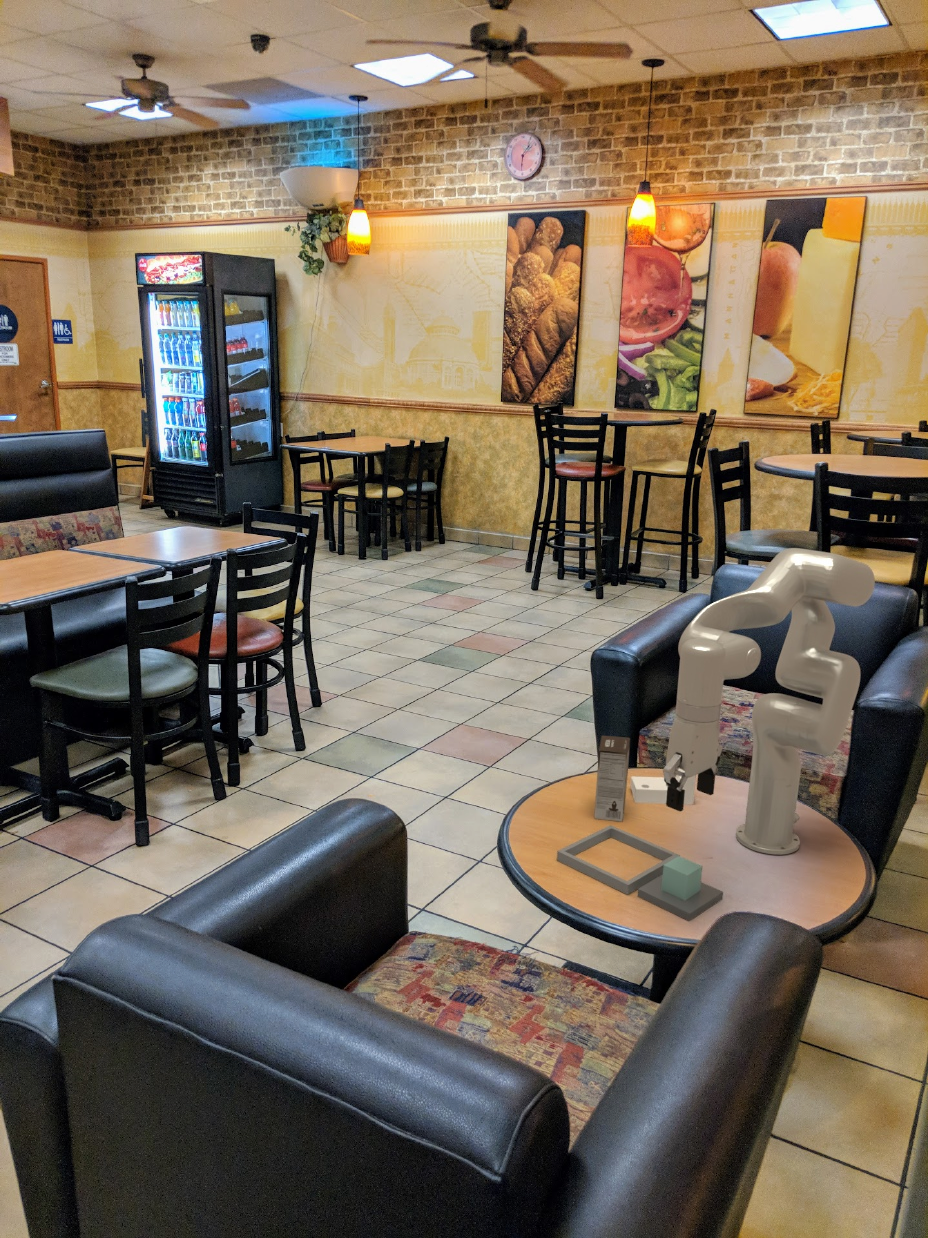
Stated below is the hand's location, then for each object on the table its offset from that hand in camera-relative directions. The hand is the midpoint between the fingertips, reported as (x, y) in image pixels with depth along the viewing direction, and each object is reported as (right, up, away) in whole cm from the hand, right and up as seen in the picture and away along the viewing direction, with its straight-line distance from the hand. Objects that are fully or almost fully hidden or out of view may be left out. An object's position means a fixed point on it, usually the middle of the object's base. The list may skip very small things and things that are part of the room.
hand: (690, 800), depth 168 cm
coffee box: (-8, -10, +39) cm, 41 cm away
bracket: (+5, -9, +47) cm, 48 cm away
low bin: (-10, -15, +17) cm, 25 cm away
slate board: (-1, -19, +5) cm, 19 cm away
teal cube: (-1, -17, +4) cm, 18 cm away
